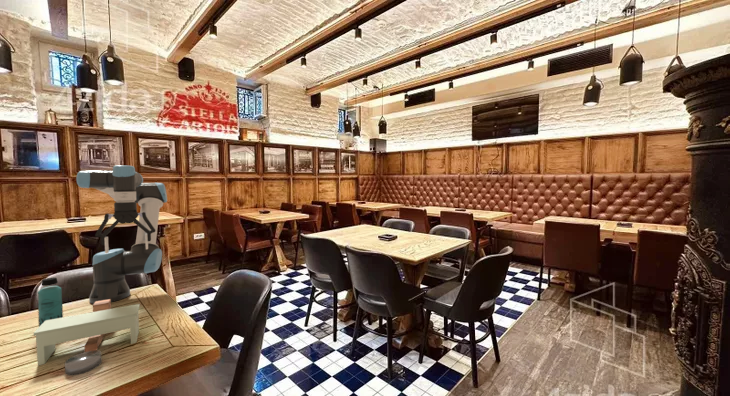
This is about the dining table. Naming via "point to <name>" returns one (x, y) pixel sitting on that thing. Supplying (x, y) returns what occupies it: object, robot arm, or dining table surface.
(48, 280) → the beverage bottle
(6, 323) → the dining table surface
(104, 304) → the paddle
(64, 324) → the shelf
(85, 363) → the puck
